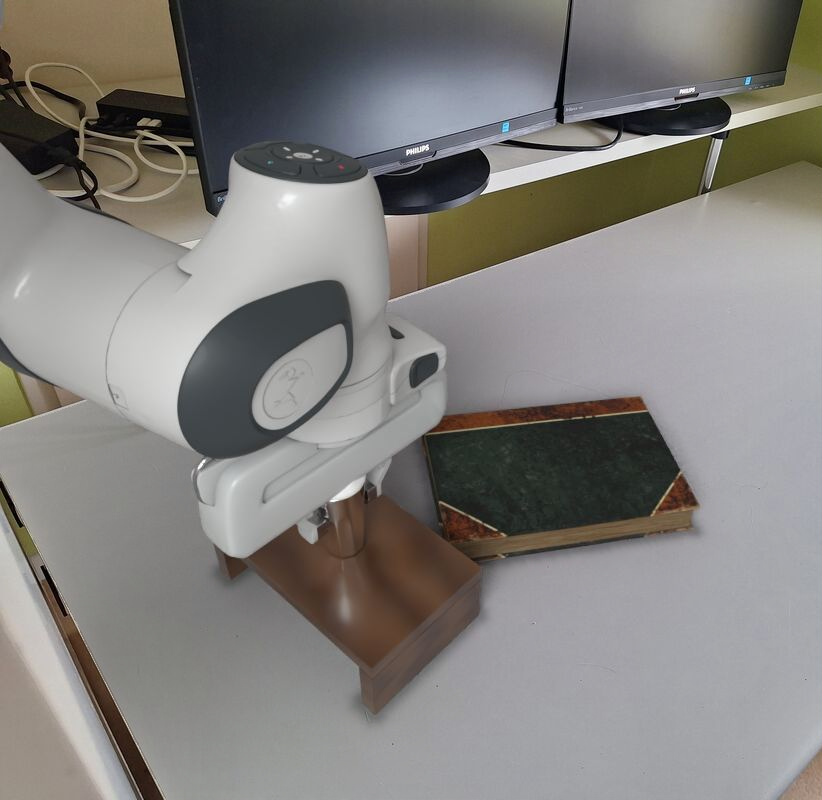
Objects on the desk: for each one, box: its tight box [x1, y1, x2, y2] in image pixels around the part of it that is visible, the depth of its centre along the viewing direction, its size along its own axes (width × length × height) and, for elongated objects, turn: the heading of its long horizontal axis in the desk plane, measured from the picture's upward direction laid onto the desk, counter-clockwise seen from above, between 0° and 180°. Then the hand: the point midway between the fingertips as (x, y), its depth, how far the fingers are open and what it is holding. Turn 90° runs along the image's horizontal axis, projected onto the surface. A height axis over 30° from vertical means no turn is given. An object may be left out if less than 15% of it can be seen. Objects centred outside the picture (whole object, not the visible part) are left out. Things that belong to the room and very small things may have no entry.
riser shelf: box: [212, 492, 483, 715], centre depth 65 cm, size 12×20×7 cm, turn 52°
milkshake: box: [314, 475, 366, 558], centre depth 59 cm, size 5×5×10 cm
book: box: [420, 395, 701, 563], centre depth 78 cm, size 17×4×25 cm
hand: (341, 514), depth 60 cm, fingers closed on milkshake, 4 cm apart
